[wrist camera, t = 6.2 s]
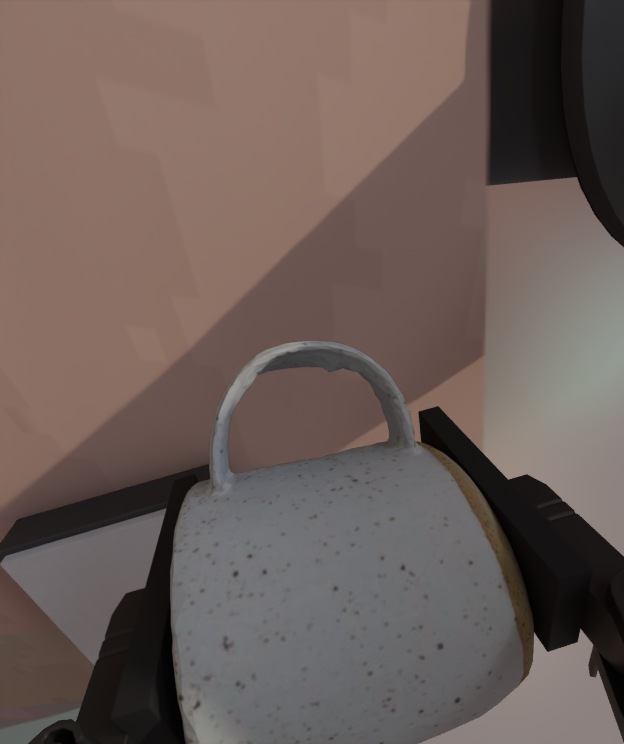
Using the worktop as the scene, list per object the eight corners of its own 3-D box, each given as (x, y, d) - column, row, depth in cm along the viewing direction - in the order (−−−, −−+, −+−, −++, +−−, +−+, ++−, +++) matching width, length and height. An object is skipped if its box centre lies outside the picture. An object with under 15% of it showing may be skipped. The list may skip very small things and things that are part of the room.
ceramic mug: (423, 532, 16) (557, 774, 9) (243, 582, 15) (240, 882, 8) (408, 302, 12) (648, 433, 5) (154, 360, 11) (-8, 609, 4)
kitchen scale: (218, 460, 23) (215, 494, 21) (273, 590, 30) (277, 629, 27) (16, 519, 23) (-15, 562, 20) (116, 640, 29) (103, 686, 26)
